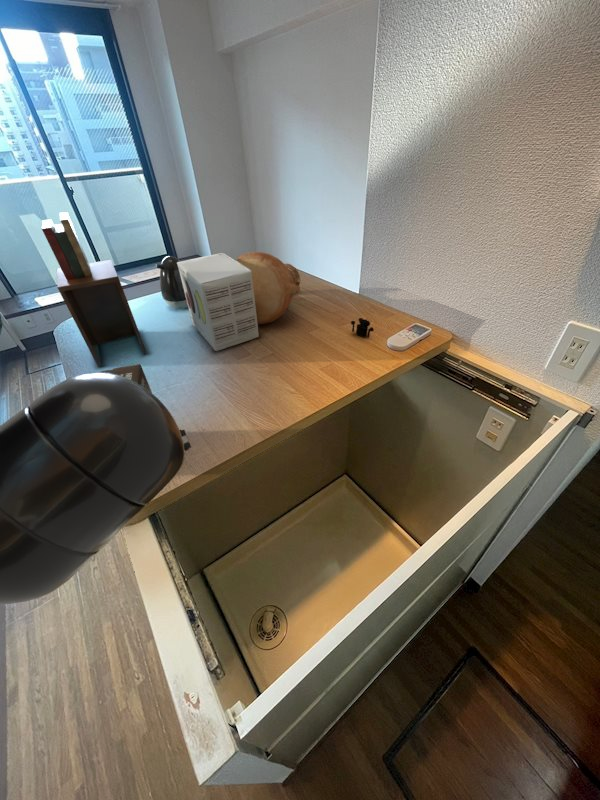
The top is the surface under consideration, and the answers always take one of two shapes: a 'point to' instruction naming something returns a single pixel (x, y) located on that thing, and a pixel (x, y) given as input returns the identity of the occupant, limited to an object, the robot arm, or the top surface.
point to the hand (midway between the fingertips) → (144, 456)
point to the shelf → (89, 289)
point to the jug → (270, 284)
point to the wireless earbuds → (362, 327)
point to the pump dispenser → (172, 283)
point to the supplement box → (220, 299)
